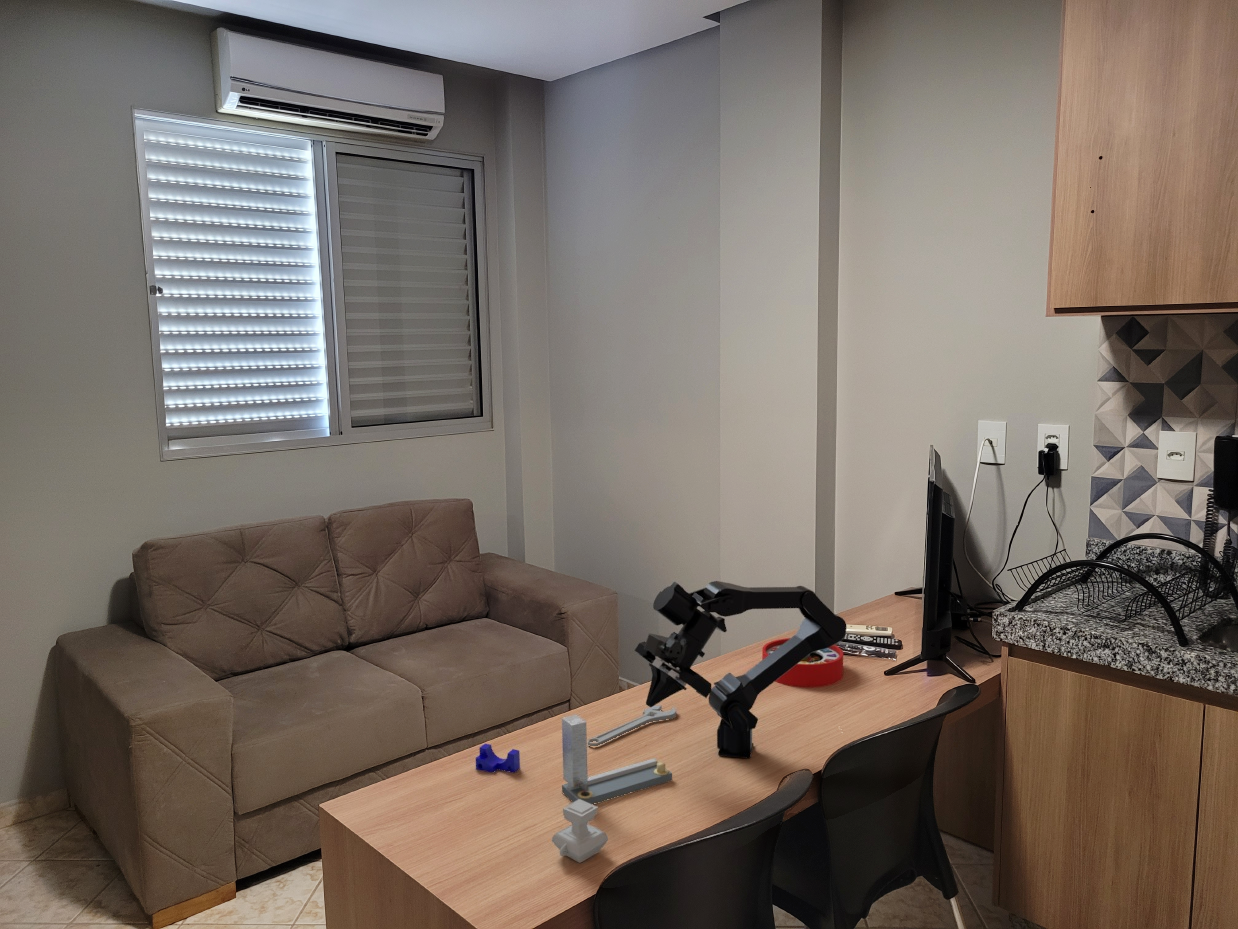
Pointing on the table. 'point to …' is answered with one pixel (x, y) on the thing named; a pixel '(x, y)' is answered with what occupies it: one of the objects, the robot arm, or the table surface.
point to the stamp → (579, 832)
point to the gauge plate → (620, 781)
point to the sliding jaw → (575, 751)
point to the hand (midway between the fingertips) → (648, 705)
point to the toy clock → (811, 667)
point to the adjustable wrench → (634, 724)
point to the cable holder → (497, 760)
